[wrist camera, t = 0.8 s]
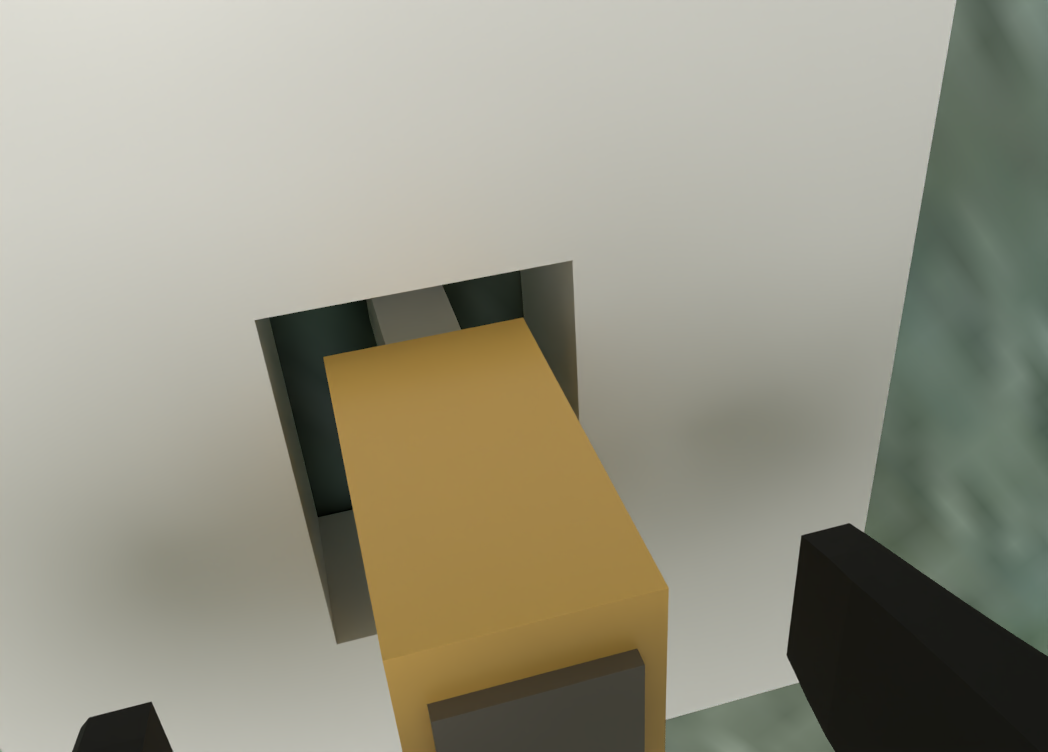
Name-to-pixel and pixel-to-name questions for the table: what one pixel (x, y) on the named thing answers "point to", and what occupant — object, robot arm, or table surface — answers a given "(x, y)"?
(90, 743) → the robot arm
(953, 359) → the table surface
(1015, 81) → the table surface
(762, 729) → the table surface
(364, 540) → the fuse
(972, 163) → the table surface
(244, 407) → the fuse block
